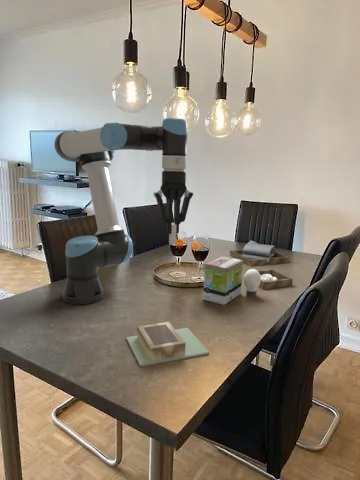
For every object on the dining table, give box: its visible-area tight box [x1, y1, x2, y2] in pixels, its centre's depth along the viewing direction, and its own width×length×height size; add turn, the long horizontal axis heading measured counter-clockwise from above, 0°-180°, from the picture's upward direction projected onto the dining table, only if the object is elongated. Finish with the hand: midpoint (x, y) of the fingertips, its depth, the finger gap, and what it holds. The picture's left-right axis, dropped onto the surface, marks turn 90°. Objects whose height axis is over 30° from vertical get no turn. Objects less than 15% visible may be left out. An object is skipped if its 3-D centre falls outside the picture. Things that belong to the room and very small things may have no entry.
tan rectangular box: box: [136, 321, 186, 360], centre depth 108 cm, size 4×14×10 cm
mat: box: [125, 327, 210, 367], centre depth 109 cm, size 20×16×1 cm
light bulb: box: [243, 268, 261, 298], centre depth 150 cm, size 7×7×11 cm
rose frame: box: [244, 268, 293, 290], centre depth 167 cm, size 15×15×3 cm
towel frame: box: [229, 249, 290, 267], centre depth 204 cm, size 24×21×3 cm
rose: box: [261, 274, 278, 281], centre depth 165 cm, size 10×4×10 cm
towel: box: [242, 239, 276, 262], centre depth 204 cm, size 15×18×8 cm
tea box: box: [202, 255, 244, 306], centre depth 147 cm, size 15×10×15 cm
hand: (172, 243), depth 122 cm, fingers closed
